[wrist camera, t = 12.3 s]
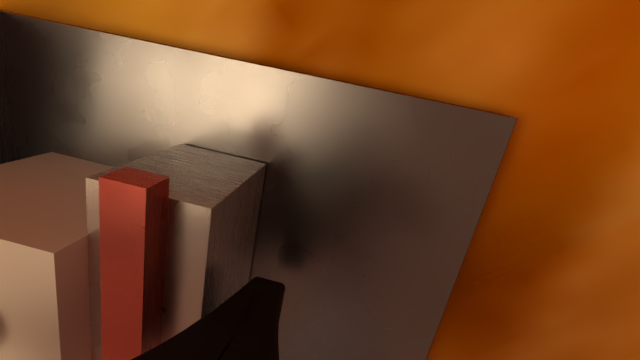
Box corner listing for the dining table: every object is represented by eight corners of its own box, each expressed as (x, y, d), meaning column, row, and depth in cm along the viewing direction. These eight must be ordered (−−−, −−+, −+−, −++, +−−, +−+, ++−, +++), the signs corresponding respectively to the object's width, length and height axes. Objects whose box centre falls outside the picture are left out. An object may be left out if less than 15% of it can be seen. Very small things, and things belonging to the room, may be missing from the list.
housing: (172, 298, 14) (44, 442, 8) (59, 267, 14) (-133, 385, 9) (180, 183, 12) (26, 268, 7) (51, 152, 12) (-189, 209, 7)
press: (390, 426, 15) (400, 637, 9) (27, 320, 17) (-153, 447, 11) (504, 114, 11) (653, 159, 5) (-6, 9, 12) (-337, -50, 6)
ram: (237, 360, 14) (170, 499, 9) (168, 340, 14) (71, 466, 10) (268, 149, 11) (195, 200, 6) (181, 129, 11) (51, 165, 7)
